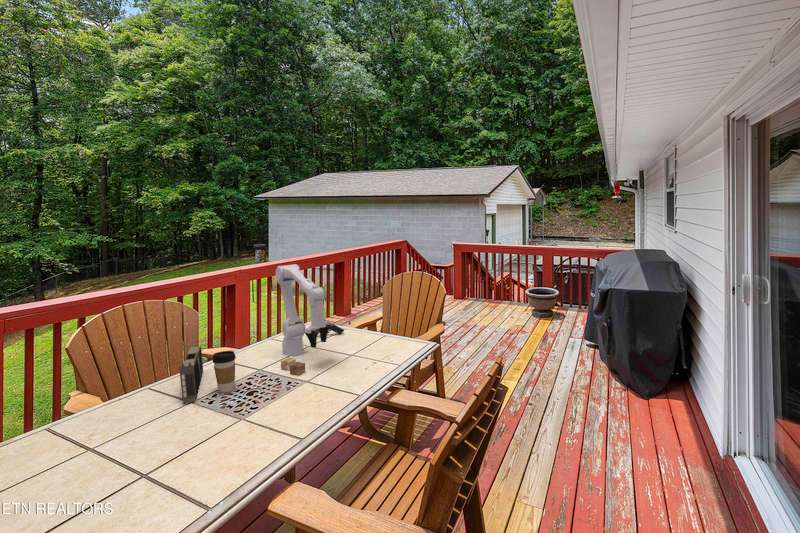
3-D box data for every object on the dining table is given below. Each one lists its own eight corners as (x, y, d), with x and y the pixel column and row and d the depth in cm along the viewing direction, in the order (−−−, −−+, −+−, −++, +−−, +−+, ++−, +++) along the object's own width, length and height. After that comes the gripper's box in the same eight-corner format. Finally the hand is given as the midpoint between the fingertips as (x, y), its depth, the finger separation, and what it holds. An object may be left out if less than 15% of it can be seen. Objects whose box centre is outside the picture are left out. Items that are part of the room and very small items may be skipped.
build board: (271, 375, 173) (271, 374, 173) (288, 366, 183) (288, 365, 183) (297, 380, 167) (297, 379, 167) (314, 371, 177) (314, 369, 177)
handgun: (307, 334, 224) (318, 315, 224) (306, 333, 225) (318, 315, 226) (333, 348, 229) (344, 329, 229) (333, 347, 231) (344, 329, 231)
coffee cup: (210, 391, 159) (207, 354, 157) (229, 383, 166) (227, 348, 164) (223, 396, 155) (220, 358, 153) (242, 387, 162) (239, 351, 160)
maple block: (281, 369, 178) (280, 360, 178) (288, 365, 182) (287, 357, 182) (289, 371, 176) (288, 362, 176) (296, 367, 180) (295, 358, 180)
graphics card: (195, 403, 150) (192, 365, 148) (181, 405, 148) (178, 367, 146) (203, 371, 180) (201, 340, 178) (192, 373, 179) (189, 342, 177)
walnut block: (290, 374, 172) (289, 365, 172) (297, 370, 176) (296, 361, 176) (298, 375, 170) (298, 366, 170) (305, 372, 175) (304, 363, 174)
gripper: (315, 319, 172) (316, 350, 174) (333, 311, 185) (335, 340, 187) (301, 318, 175) (303, 348, 177) (321, 310, 188) (322, 338, 190)
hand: (318, 344), depth 182 cm, fingers open, 7 cm apart
